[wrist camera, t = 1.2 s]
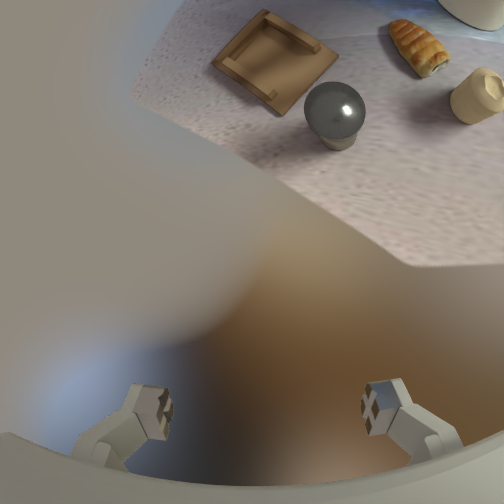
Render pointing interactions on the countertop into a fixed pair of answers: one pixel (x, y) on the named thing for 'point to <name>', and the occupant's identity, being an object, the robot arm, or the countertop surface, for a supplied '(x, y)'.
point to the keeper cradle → (275, 60)
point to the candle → (478, 96)
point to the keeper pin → (335, 114)
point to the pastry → (418, 47)
